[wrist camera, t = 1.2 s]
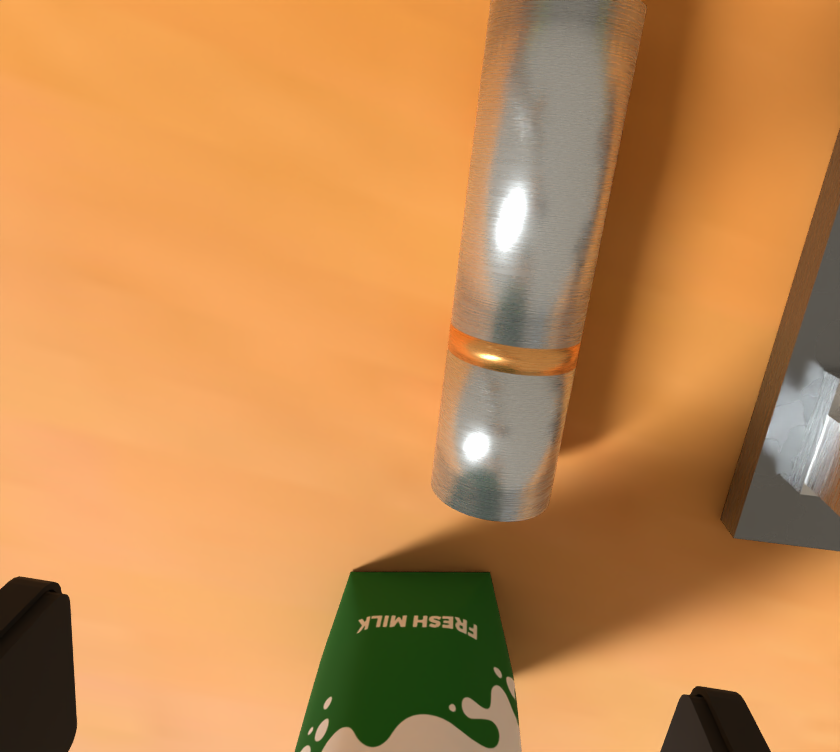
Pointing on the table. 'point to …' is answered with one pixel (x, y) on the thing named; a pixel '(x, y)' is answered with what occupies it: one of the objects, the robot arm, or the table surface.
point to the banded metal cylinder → (530, 245)
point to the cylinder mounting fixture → (798, 404)
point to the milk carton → (414, 669)
